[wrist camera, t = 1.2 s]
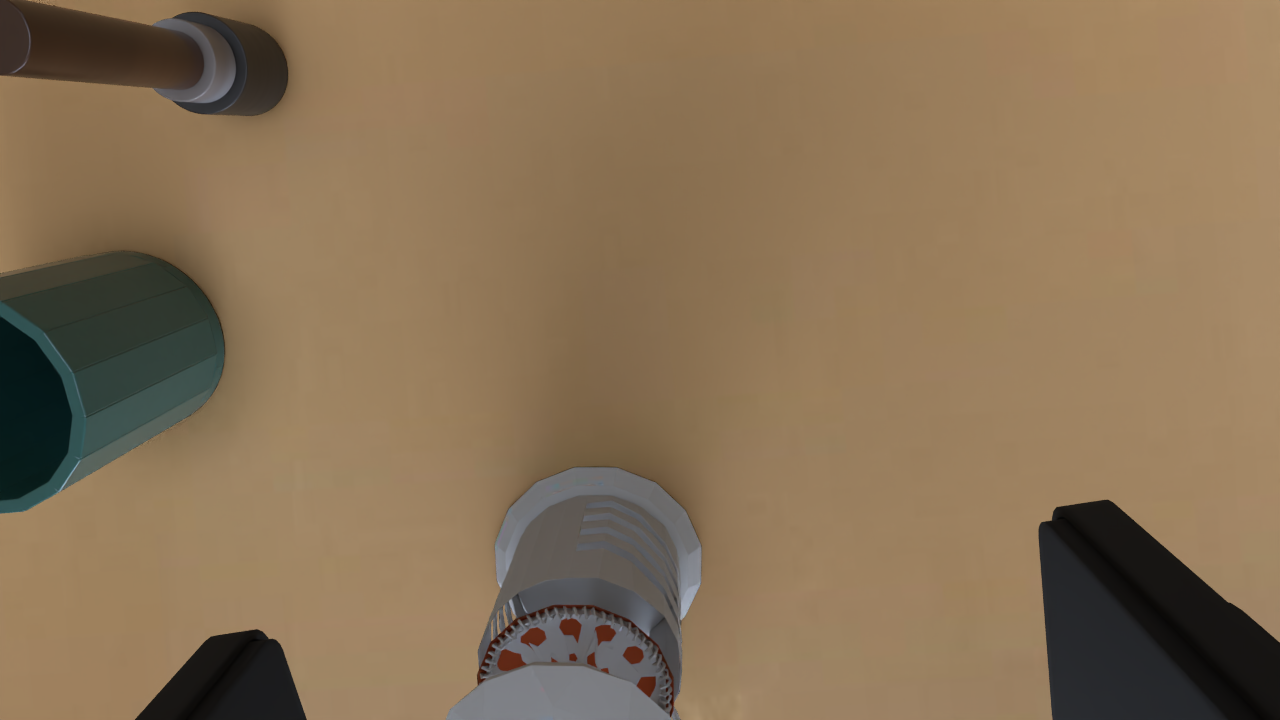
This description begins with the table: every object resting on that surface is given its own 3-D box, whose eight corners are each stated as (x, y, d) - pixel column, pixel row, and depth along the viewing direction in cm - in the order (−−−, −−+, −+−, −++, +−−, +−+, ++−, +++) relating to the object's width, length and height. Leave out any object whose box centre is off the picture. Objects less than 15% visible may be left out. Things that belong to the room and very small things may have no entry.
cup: (11, 304, 38) (-198, 359, 29) (153, 217, 37) (-19, 246, 28) (120, 453, 40) (-45, 550, 31) (260, 375, 39) (131, 452, 29)
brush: (184, 74, 35) (-102, 41, 22) (233, 3, 35) (-33, -74, 22) (255, 134, 36) (17, 136, 23) (305, 65, 35) (88, 27, 22)
